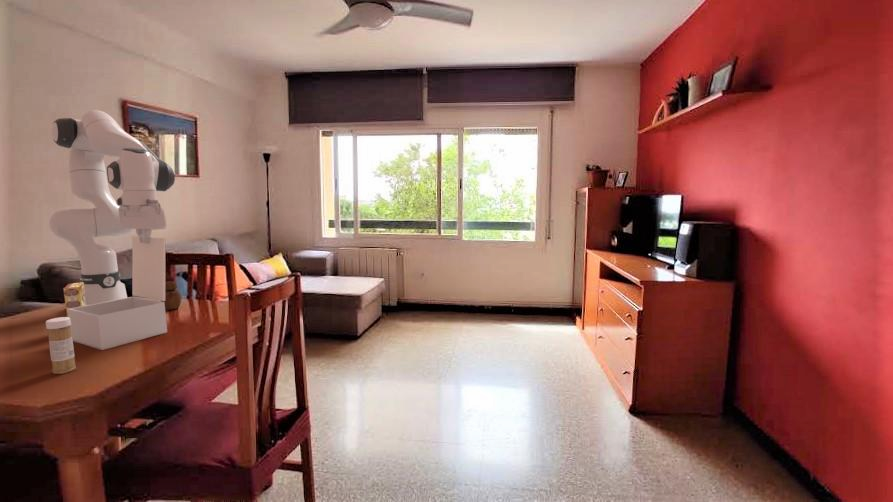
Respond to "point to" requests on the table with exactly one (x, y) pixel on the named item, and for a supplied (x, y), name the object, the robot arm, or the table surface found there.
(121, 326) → the carton
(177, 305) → the wooden figurine
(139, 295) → the carton flap
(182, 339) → the table surface
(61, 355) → the sprinkles bottle
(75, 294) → the candy box
